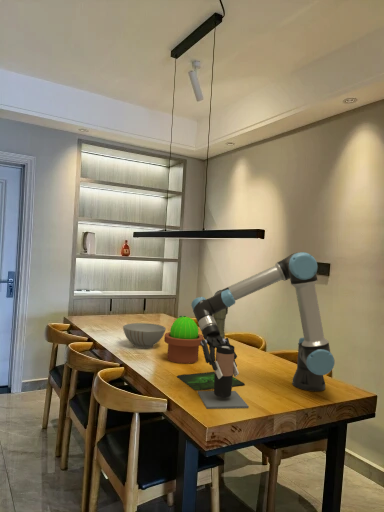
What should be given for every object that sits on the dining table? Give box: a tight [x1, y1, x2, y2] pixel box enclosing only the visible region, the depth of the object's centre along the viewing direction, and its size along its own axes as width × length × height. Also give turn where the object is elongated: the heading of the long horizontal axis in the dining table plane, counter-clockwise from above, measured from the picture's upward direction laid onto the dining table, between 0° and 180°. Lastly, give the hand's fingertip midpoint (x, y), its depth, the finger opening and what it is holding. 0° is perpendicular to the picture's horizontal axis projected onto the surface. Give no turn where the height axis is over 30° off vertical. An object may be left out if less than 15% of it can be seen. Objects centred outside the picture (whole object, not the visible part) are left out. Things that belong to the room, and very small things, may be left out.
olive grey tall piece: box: [213, 307, 229, 339], centre depth 266 cm, size 9×12×35 cm
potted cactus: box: [163, 315, 204, 364], centre depth 218 cm, size 22×22×25 cm
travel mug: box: [213, 344, 235, 397], centre depth 160 cm, size 8×8×20 cm
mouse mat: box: [176, 371, 245, 392], centre depth 184 cm, size 27×22×1 cm
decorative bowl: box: [122, 322, 167, 349], centre depth 244 cm, size 27×27×12 cm
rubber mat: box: [197, 390, 250, 410], centre depth 160 cm, size 17×17×1 cm
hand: (228, 376), depth 157 cm, fingers closed on travel mug, 7 cm apart
